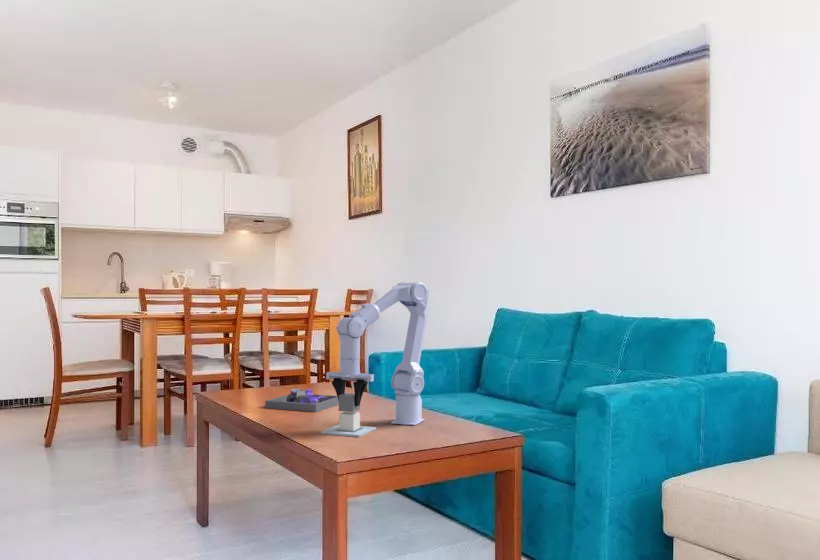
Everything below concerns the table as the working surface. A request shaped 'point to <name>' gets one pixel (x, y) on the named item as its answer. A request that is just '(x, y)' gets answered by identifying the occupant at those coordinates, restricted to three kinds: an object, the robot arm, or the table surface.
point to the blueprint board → (356, 433)
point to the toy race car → (305, 397)
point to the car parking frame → (301, 404)
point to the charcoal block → (348, 402)
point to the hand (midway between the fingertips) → (349, 405)
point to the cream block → (349, 421)
